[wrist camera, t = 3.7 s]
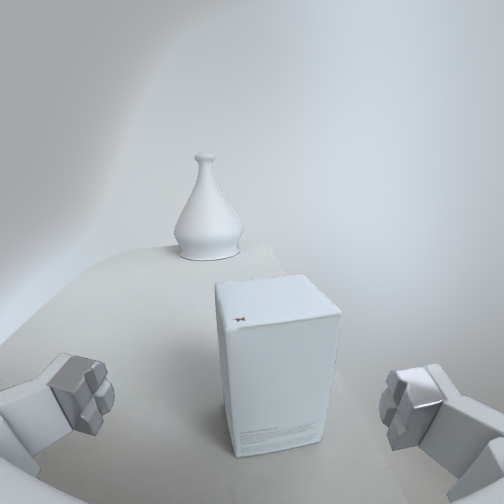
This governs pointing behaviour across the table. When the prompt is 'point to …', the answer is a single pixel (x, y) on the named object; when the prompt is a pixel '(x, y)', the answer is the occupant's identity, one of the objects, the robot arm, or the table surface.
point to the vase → (207, 219)
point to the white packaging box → (275, 361)
